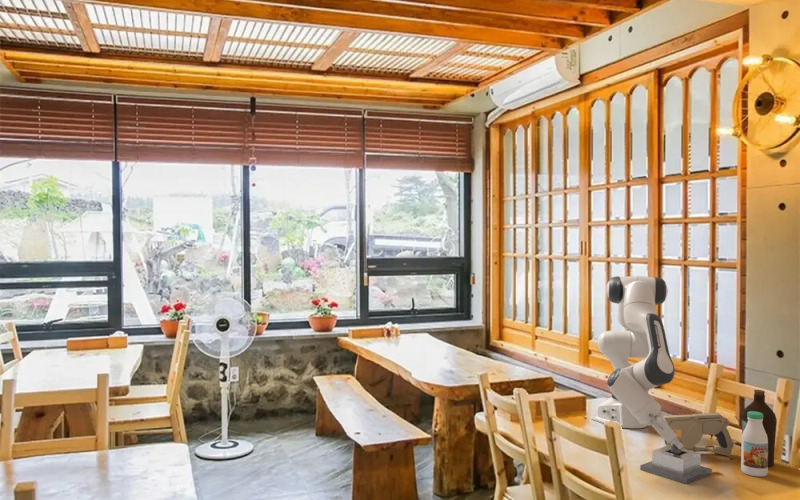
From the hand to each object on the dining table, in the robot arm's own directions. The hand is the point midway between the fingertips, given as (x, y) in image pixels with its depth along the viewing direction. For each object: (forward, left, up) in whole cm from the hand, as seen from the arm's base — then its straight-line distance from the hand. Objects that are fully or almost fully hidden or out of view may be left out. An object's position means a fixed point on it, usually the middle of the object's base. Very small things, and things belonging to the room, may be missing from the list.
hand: (678, 442), depth 213 cm
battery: (0, 0, -8) cm, 8 cm away
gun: (-6, +24, -10) cm, 26 cm away
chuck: (0, 0, -10) cm, 10 cm away
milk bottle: (+16, +20, -10) cm, 27 cm away
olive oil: (+12, +32, -10) cm, 35 cm away
